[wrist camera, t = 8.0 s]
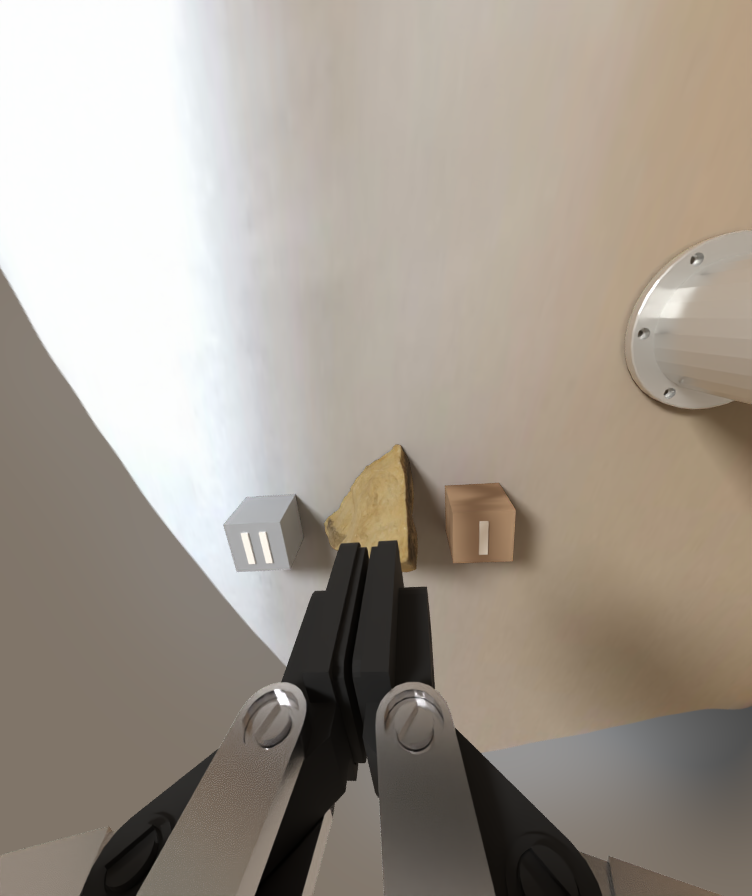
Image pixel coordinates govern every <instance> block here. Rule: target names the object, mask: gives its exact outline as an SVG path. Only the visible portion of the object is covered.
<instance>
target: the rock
mask: <svg viewBox="0 0 752 896" xmlns="http://www.w3.org/2000/svg"><path fill="white" fill-rule="evenodd" d="M413 500H414V493H413V480H412V474H411V469H410V463H409V460H408V458H407V456H406V454H405V453H404V451H403V450H402V447H401V445H395V446H394V447H393V449H392V450H391V451H390V452H389V453H387V454H385V455H384V456H382V457H381V458H380V459H378V460H376V461H374V462H373V463H372V464H371V465H369V466H366V468H365V469H364V471H363V472H362V473H361V475H359V477H357V479H356V480H355V483H354V484H353V485H352V487H351V488H350V492H349V493H348V495H347V496H345V497H344V499H343V501H342V503H341V506H340V508H339V510H337V511H336V512H334V513H333V514H332V515H331V516H329V517H328V518H327V520H326V522H325V523H324V525H325V532H326V534H327V536H328V539H329V543H330V545H331V547H332V548H333V549H335V550H337V551H338V549H339V546H340V544H341V543H355V542H359V543H360V545H361V547H367V550H368V555H369V558H370V552H371V547H374V546H378V542H379V541H390V540H397V541H398V547H399V554H400V562H401V569H402V572H409V571H413V570H415V569H416V563H417V562H416V560H417V549H418V545H417V533H416V529H415V525H414V523H413V518H412V511H413Z"/></svg>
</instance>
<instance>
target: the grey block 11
mask: <svg viewBox="0 0 752 896" xmlns="http://www.w3.org/2000/svg"><path fill="white" fill-rule="evenodd" d="M223 526H224V529H225V533H226V536H227V539H228V543H229V546H230V550H231V553H232V557H233V560H234V564H235V567H236V571H237V572H245V571H269V570H290V569H291V567H292V564H293V562H294V559H295V557H296V555H297V552H298V550H299V547H300V545H301V543H302V540H303V538H304V536H303V531H302V526H301V521H300V515H299V510H298V505H297V500H296V495H295V494H289V495H273V496H256V497H246V498H245V499H244V500H243V502H242V503H241V504H240V505H239V506H238V508H237V509H236V510H235V511H234V512H233V514H232V515H231V516H230V517H229V518H228V520H227V521H226V522H225V523H224V525H223Z"/></svg>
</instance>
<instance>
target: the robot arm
mask: <svg viewBox="0 0 752 896" xmlns="http://www.w3.org/2000/svg"><path fill="white" fill-rule="evenodd" d="M638 332H639V334H638ZM625 357H626V362H627V366H628V369H629V371H630V374H631V376H632V378H633V380H634V381H635V382H636V384H637V385H638V386H639V387H640V389H641V390H642V391H643V392H645V393H646V394H647V395H649V396H650V397H651V398H653V399H655V400H657V401H660V402H662V403H664V404H667V405H671V406H674V407H678V408H685V409H706V408H713V407H717V406H721V405H725V404H728V403H730V402H733V401H739V402H743V403H748V404H752V230H742V231H737V232H732V233H727V234H723V235H720V236H716V237H713V238H710V239H706V240H704V241H702V242H700V243H698V244H696V245H694V246H692V247H690V248H688V249H686V250H685V251H683V252H682V253H680V254H679V255H678V256H676V257H675V258H673V259H672V260H671V261H669V262H668V263H667V264H666V265H665V266H664V267H663V268H662V269H661V270H660V271H659V272H658V273H657V274H656V275H655V276H654V277H653V279H652V280H651V281H650V282H649V284H648V285H647V286H646V287H645V289H644V290H643V292H642V294H641V295H640V297H639V299H638V300H637V302H636V304H635V306H634V308H633V311H632V313H631V316H630V319H629V321H628V325H627V330H626V336H625ZM366 758H367V759H368V763H369V767H370V772H371V776H372V780H373V785H374V789H375V793H376V795H377V796H378V798H379V806H380V827H381V847H382V867H383V886H384V887H383V888H384V896H722V895H720V894H717V893H714V892H711V891H708V890H705V889H703V888H699V887H697V886H694V885H691V884H688V883H685V882H682V881H680V880H677V879H674V878H671V877H668V876H665V875H663V874H659V873H657V872H654V871H651V870H648V869H645V868H643V867H640V866H637V865H634V864H631V863H628V862H625V861H622V860H620V859H617V858H614V857H611V856H608V861H605V860H602V859H599V858H597V857H594V856H591V855H588V854H585V853H582V852H580V851H578V850H577V849H576V848H575V847H574V845H573V844H572V843H571V842H570V841H569V840H568V839H567V838H566V837H565V836H564V835H563V834H562V833H561V832H560V831H559V830H558V829H557V828H556V827H555V826H554V825H553V824H552V823H551V822H550V821H549V820H548V819H547V818H546V817H545V816H544V815H543V814H542V813H541V812H540V811H539V810H538V809H537V808H536V807H535V806H534V805H533V804H532V803H531V802H530V801H529V800H528V799H527V798H526V797H525V796H524V795H523V794H522V793H521V792H520V791H519V790H517V788H516V787H515V786H514V785H513V784H512V783H510V782H509V781H508V780H507V779H506V778H505V777H504V776H503V775H502V774H501V773H500V772H499V771H498V770H497V769H496V768H495V767H494V766H493V765H492V764H491V763H490V762H489V761H488V760H487V759H486V758H485V757H484V756H483V755H482V754H481V753H480V752H479V751H478V750H477V749H476V748H475V747H474V746H473V745H472V744H471V743H470V742H469V741H468V740H467V739H466V738H465V737H464V736H463V735H462V734H461V733H460V732H459V731H458V730H457V729H456V728H455V727H454V723H453V719H452V715H451V712H450V709H449V707H448V704H447V702H446V701H445V699H444V698H443V697H442V696H441V694H440V693H439V692H438V691H436V690H435V683H434V667H433V652H432V637H431V624H430V612H429V603H428V593H427V587H406V588H404V584H403V576H402V569H401V562H400V554H399V547H398V541H397V540H390V541H379V542H378V546H374V547H371V552H370V558H369V555H368V550H367V547H361V545H360V543H359V542H355V543H341V544H340V546H339V549H338V552H337V556H336V559H335V562H334V566H333V569H332V572H331V575H330V579H329V582H328V585H327V588H326V591H315V592H314V593H313V594H312V596H311V599H310V602H309V604H308V607H307V610H306V613H305V616H304V619H303V622H302V624H301V627H300V630H299V633H298V636H297V639H296V642H295V645H294V647H293V650H292V653H291V656H290V659H289V662H288V665H287V667H286V670H285V673H284V676H283V679H282V682H281V683H274V684H271V685H268V686H266V687H264V688H262V689H261V690H259V691H257V692H256V693H255V694H254V695H253V696H252V697H251V698H250V699H249V700H247V702H246V703H245V705H244V706H243V707H242V709H241V710H240V712H239V713H238V715H237V717H236V719H235V720H234V722H233V724H232V726H231V728H230V729H229V731H228V733H227V735H226V736H225V738H224V740H223V742H222V744H221V746H220V747H219V749H217V750H216V751H215V752H214V753H212V754H211V755H210V756H209V757H207V758H206V759H205V760H204V761H202V762H201V763H200V764H198V765H197V766H196V767H195V768H193V769H192V770H191V771H190V772H188V773H187V774H186V775H185V776H183V777H182V778H181V779H179V780H178V781H177V782H176V783H175V784H173V785H172V786H171V787H169V788H168V789H167V790H166V791H164V792H163V793H162V794H161V795H159V796H158V797H157V798H156V799H154V800H153V801H152V802H150V803H149V804H148V805H147V806H145V807H144V808H143V809H142V810H140V811H139V812H138V813H137V814H135V815H134V816H133V817H132V818H130V819H129V820H128V821H127V822H126V823H125V824H124V825H123V826H122V827H121V828H120V829H119V830H115V831H112V830H111V828H110V827H109V826H108V827H104V828H100V829H96V830H92V831H89V832H85V833H82V834H77V835H74V836H70V837H66V838H62V839H58V840H55V841H51V842H47V843H43V844H40V845H36V846H32V847H29V848H24V849H21V850H17V851H13V852H9V853H6V854H4V855H1V856H0V896H312V895H313V891H314V888H315V884H316V880H317V876H318V873H319V869H320V865H321V861H322V857H323V853H324V850H325V846H326V842H327V839H328V835H329V830H330V827H331V823H332V820H333V814H334V807H335V802H336V801H337V800H338V799H339V798H340V797H341V796H342V795H343V794H344V793H345V790H346V783H347V781H356V778H357V770H358V763H365V762H366Z"/></svg>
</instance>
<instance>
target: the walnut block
mask: <svg viewBox="0 0 752 896" xmlns="http://www.w3.org/2000/svg"><path fill="white" fill-rule="evenodd" d="M515 515H516V510H515V508H514V506H513V505H512V503H511V502H510V500H509V498H508V497H507V495H506V494H505V492H504V490H503V489H502V487H501V486H500V484H499V483H488V484H469V485H449V486H445V518H446V534H447V538H448V543H449V547H450V551H451V555H452V560H453V563H474V562H504V561H513V547H514V531H515Z"/></svg>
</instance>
